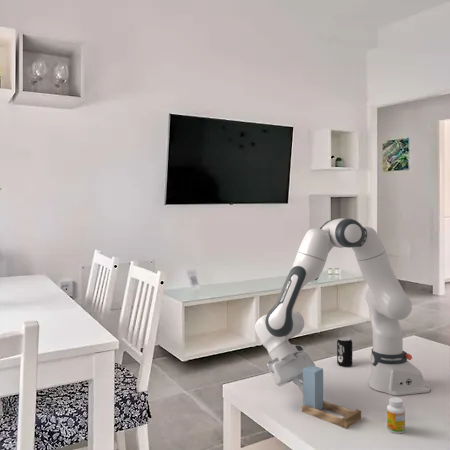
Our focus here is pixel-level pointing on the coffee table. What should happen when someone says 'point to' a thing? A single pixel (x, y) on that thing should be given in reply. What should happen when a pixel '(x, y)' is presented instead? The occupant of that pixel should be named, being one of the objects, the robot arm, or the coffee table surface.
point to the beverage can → (344, 351)
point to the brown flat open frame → (345, 422)
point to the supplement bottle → (395, 415)
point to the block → (313, 387)
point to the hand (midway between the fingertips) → (305, 388)
